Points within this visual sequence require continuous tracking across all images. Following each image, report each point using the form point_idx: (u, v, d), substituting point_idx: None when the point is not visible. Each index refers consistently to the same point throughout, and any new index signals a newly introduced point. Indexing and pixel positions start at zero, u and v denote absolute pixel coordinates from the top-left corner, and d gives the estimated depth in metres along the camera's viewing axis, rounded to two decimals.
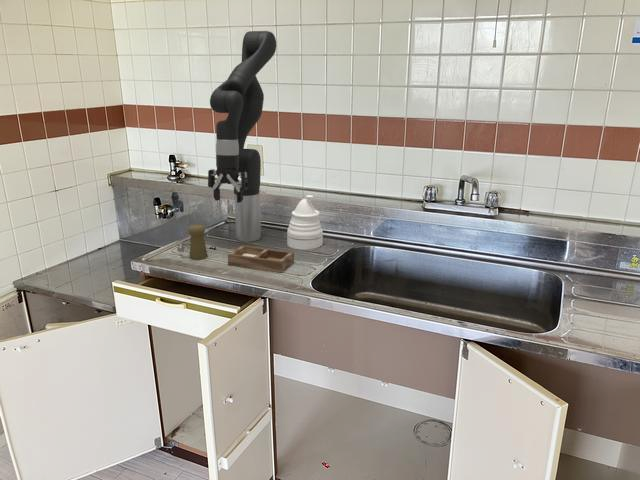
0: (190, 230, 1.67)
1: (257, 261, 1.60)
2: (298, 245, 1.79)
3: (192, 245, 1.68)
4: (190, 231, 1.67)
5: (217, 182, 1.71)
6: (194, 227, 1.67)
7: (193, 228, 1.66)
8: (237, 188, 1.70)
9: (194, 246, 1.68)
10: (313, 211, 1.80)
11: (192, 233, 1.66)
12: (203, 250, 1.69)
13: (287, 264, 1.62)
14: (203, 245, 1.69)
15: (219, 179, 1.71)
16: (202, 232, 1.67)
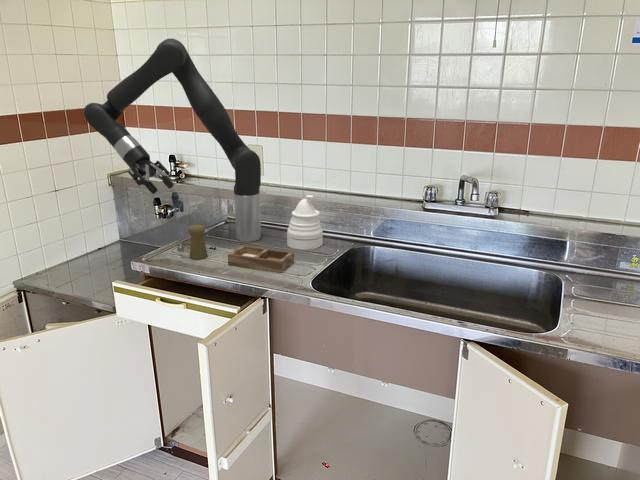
0: (190, 230, 1.67)
1: (257, 261, 1.60)
2: (298, 245, 1.79)
3: (192, 245, 1.68)
4: (190, 231, 1.67)
5: None
6: (194, 227, 1.67)
7: (193, 228, 1.66)
8: None
9: (194, 246, 1.68)
10: (313, 211, 1.80)
11: (192, 233, 1.66)
12: (203, 250, 1.69)
13: (287, 264, 1.62)
14: (203, 245, 1.69)
15: None
16: (202, 232, 1.67)
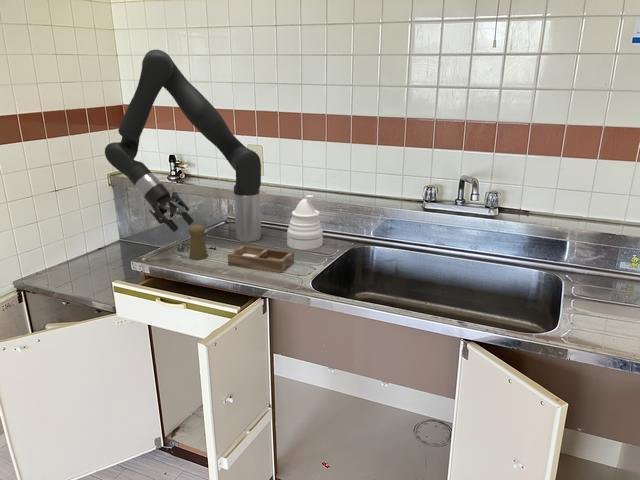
0: (190, 230, 1.67)
1: (257, 261, 1.60)
2: (298, 245, 1.79)
3: (192, 245, 1.68)
4: (190, 231, 1.67)
5: None
6: (194, 227, 1.67)
7: (193, 228, 1.66)
8: None
9: (194, 246, 1.68)
10: (313, 211, 1.80)
11: (192, 233, 1.66)
12: (203, 250, 1.69)
13: (287, 264, 1.62)
14: (203, 245, 1.69)
15: None
16: (202, 232, 1.67)
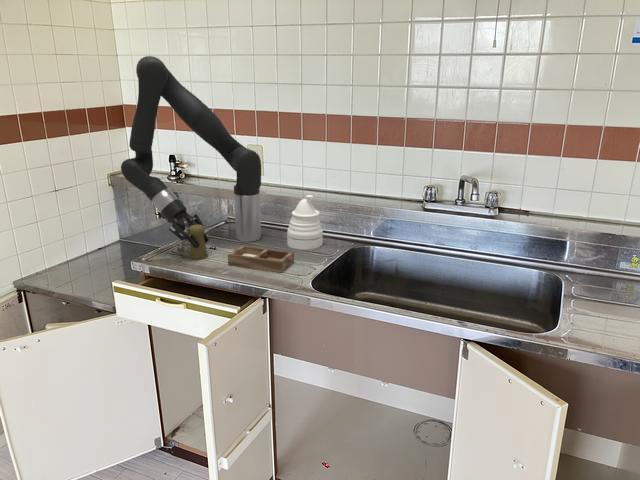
0: (190, 230, 1.67)
1: (257, 261, 1.60)
2: (298, 245, 1.79)
3: None
4: (190, 231, 1.67)
5: None
6: (194, 227, 1.67)
7: (193, 228, 1.66)
8: None
9: None
10: (313, 211, 1.80)
11: (192, 233, 1.66)
12: (203, 250, 1.69)
13: (287, 264, 1.62)
14: (203, 245, 1.69)
15: None
16: (202, 232, 1.67)
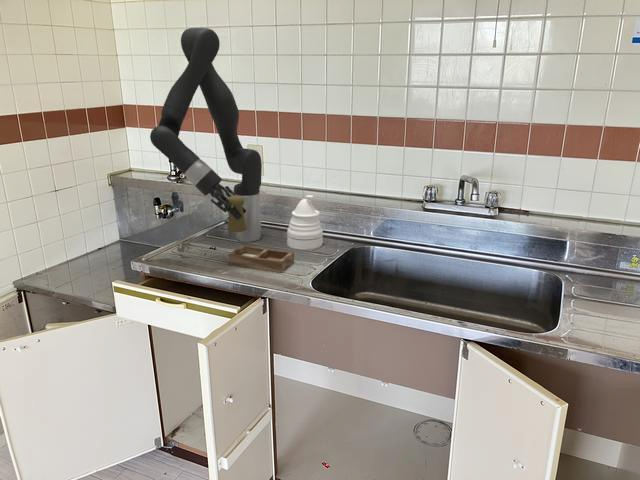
0: (231, 201, 1.58)
1: (257, 261, 1.60)
2: (298, 245, 1.79)
3: (232, 217, 1.60)
4: (231, 202, 1.58)
5: None
6: (235, 197, 1.59)
7: (234, 198, 1.58)
8: None
9: (235, 218, 1.60)
10: (313, 211, 1.80)
11: (233, 204, 1.58)
12: (243, 221, 1.62)
13: (287, 264, 1.62)
14: (243, 216, 1.62)
15: None
16: (243, 202, 1.60)
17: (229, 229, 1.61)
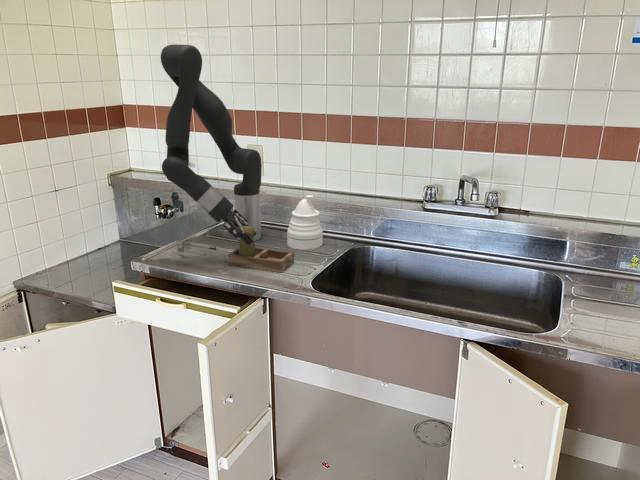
0: None
1: (257, 261, 1.60)
2: (298, 245, 1.79)
3: (244, 247, 1.63)
4: None
5: None
6: (246, 228, 1.61)
7: (245, 229, 1.61)
8: None
9: (247, 248, 1.63)
10: (313, 211, 1.80)
11: None
12: (254, 251, 1.65)
13: (287, 264, 1.62)
14: (254, 246, 1.65)
15: None
16: (254, 233, 1.63)
17: None
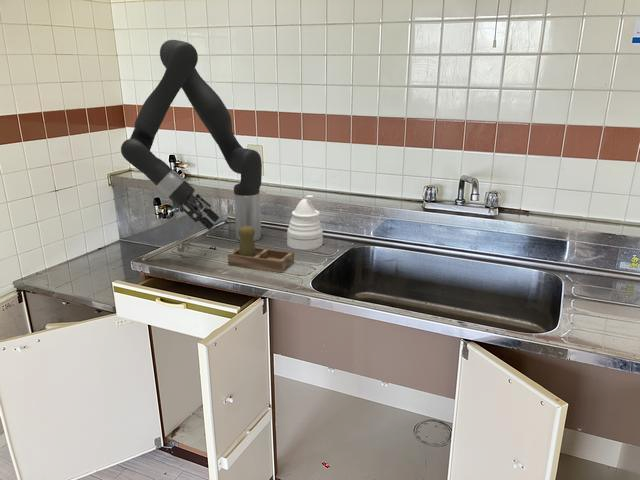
0: (242, 232, 1.61)
1: (257, 261, 1.60)
2: (298, 245, 1.79)
3: (244, 247, 1.63)
4: (242, 233, 1.61)
5: None
6: (246, 228, 1.61)
7: (245, 230, 1.61)
8: None
9: (247, 248, 1.63)
10: (313, 211, 1.80)
11: (245, 235, 1.61)
12: (254, 251, 1.65)
13: (287, 264, 1.62)
14: (254, 246, 1.65)
15: None
16: (254, 233, 1.63)
17: None
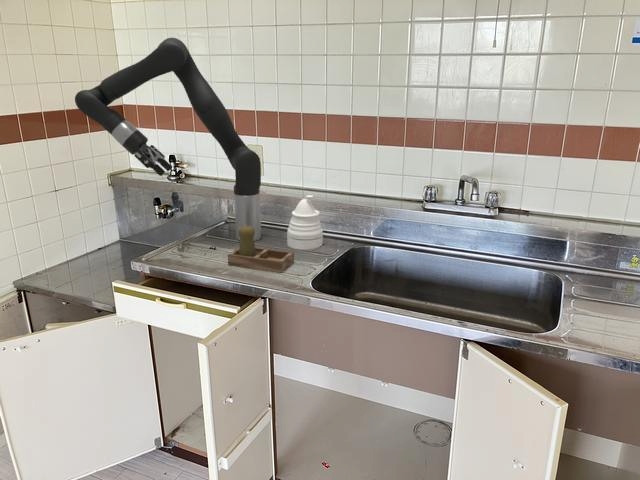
0: (242, 232, 1.61)
1: (257, 261, 1.60)
2: (298, 245, 1.79)
3: (244, 247, 1.63)
4: (242, 233, 1.61)
5: None
6: (246, 228, 1.61)
7: (245, 230, 1.61)
8: None
9: (247, 248, 1.63)
10: (313, 211, 1.80)
11: (245, 235, 1.61)
12: (254, 251, 1.65)
13: (287, 264, 1.62)
14: (254, 246, 1.65)
15: None
16: (254, 233, 1.63)
17: None
